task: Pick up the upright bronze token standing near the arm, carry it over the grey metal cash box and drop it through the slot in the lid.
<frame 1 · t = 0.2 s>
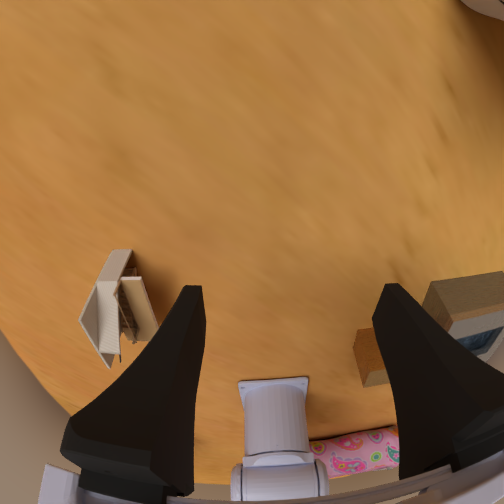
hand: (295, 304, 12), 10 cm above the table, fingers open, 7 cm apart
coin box: (454, 311, 28), on the table
token: (377, 335, 29), on the table
pencil case: (345, 434, 49), on the table
architectural model: (132, 272, 25), on the table
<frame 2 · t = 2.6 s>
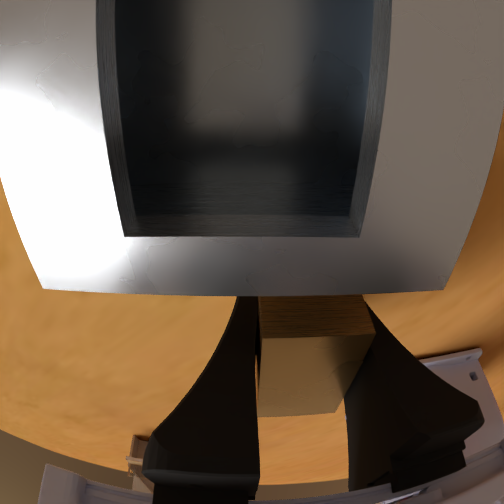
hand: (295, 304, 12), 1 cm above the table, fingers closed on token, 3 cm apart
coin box: (244, 44, 8), on the table
token: (291, 279, 13), on the table, touching gripper
architectural model: (162, 435, 26), on the table
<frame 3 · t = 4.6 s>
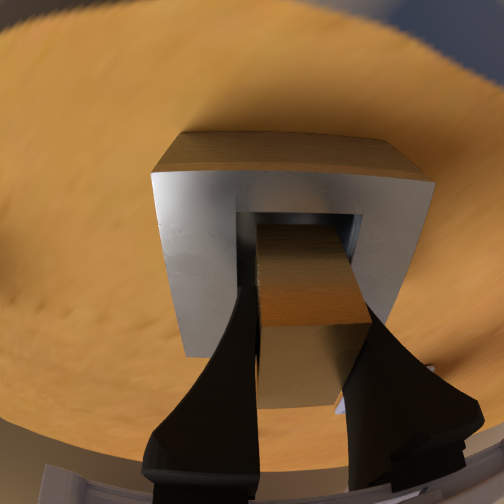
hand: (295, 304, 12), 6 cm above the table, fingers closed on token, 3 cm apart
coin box: (281, 223, 17), on the table
token: (290, 274, 13), point 4 cm above the table, touching gripper
when the fingers open (6 cm above the table, at t = 5.1 s): token drops 4 cm, resting on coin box.
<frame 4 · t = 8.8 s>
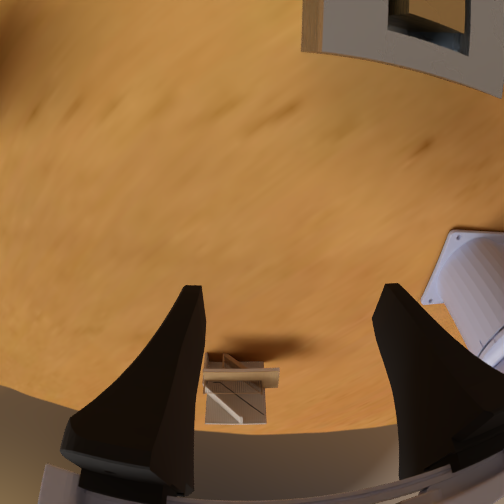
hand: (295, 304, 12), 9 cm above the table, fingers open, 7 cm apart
architectural model: (234, 352, 30), on the table
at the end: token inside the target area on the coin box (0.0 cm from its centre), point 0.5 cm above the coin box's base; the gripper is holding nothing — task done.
